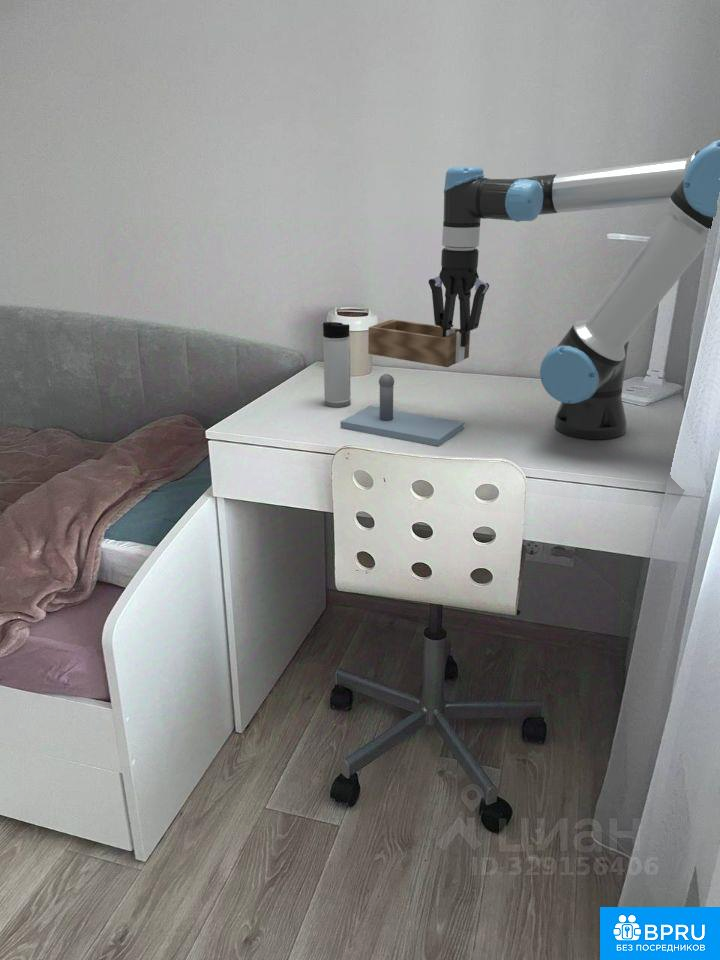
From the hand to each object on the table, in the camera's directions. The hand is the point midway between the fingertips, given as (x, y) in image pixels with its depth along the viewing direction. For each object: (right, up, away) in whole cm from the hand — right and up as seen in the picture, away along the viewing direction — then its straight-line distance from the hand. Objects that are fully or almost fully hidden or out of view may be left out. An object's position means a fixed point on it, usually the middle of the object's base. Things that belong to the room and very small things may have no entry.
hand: (454, 359), depth 172 cm
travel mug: (-26, -8, +21) cm, 34 cm away
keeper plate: (-11, -15, +4) cm, 19 cm away
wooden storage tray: (-7, +2, +5) cm, 9 cm away
